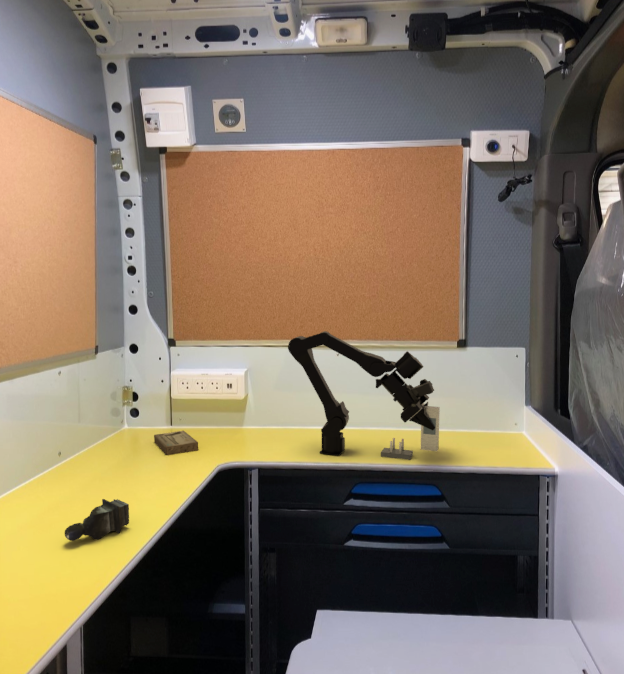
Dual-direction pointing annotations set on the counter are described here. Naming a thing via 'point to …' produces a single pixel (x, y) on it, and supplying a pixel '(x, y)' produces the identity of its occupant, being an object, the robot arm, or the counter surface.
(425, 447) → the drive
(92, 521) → the dark statue fragment
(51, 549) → the counter surface
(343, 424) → the robot arm
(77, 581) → the counter surface
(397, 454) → the dark grey pegged block
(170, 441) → the box
